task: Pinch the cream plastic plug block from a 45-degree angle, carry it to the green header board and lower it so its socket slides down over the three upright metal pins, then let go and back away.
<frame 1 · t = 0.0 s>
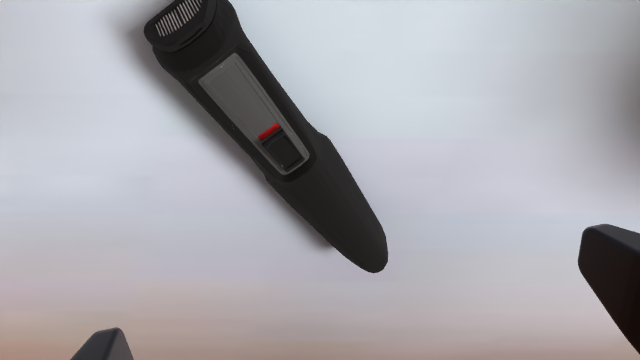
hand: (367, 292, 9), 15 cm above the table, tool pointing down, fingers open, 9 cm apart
electric trimmer: (282, 130, 24), on the table
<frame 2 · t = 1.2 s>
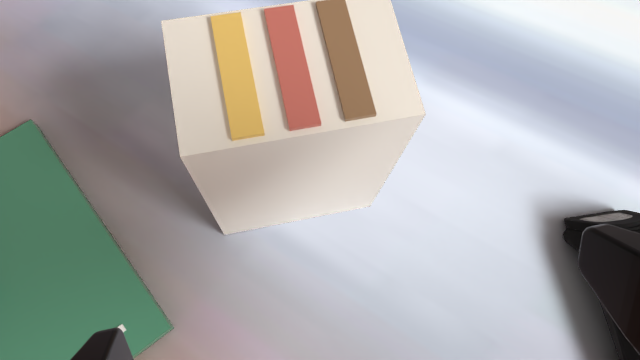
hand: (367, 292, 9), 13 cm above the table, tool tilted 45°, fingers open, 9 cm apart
plug block: (289, 177, 24), on the table
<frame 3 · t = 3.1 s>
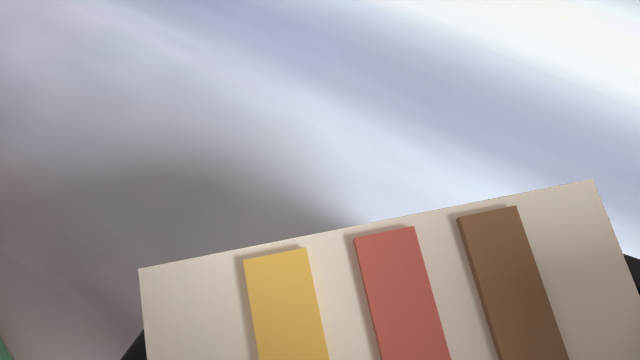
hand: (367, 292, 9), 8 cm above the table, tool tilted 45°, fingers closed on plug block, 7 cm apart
plug block: (341, 357, 16), on the table, touching gripper
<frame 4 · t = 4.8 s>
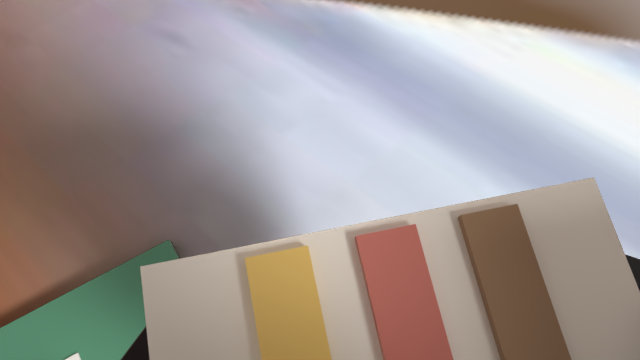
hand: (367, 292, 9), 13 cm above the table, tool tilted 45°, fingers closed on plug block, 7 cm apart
plug block: (341, 356, 16), point 6 cm above the table, touching gripper
when the fingers open (9 cm above the table, at t = 7.3 s): plug block stays where it is, resting on header board.
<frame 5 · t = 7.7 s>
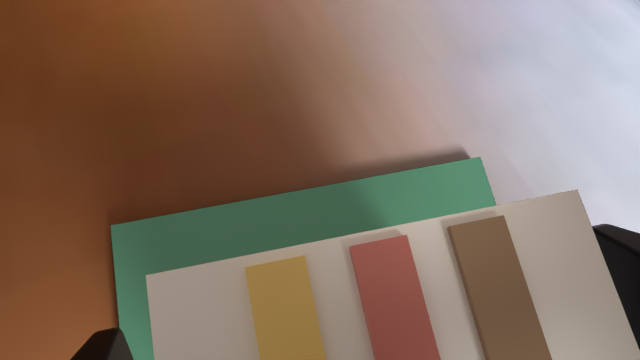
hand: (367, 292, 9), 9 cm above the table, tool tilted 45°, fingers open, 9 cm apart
header board: (338, 356, 17), on the table
plug block: (339, 357, 17), point 1 cm above the table, touching header board
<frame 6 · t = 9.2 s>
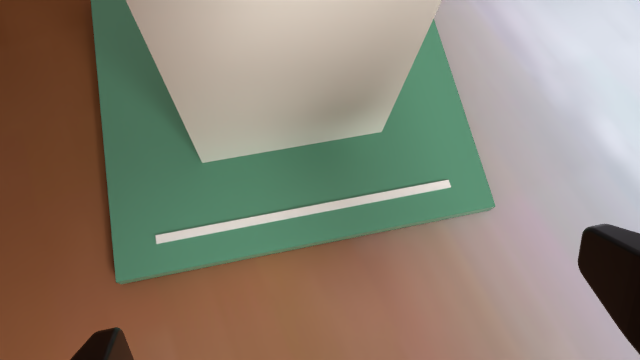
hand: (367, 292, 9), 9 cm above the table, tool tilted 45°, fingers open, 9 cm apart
header board: (283, 102, 20), on the table
plug block: (283, 96, 20), point 1 cm above the table, touching header board
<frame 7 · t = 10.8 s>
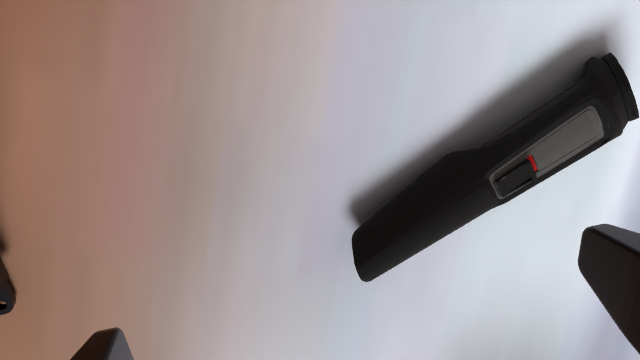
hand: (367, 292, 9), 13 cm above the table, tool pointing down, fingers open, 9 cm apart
electric trimmer: (480, 160, 25), on the table
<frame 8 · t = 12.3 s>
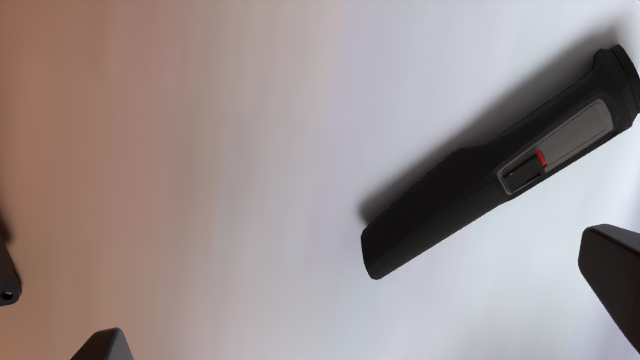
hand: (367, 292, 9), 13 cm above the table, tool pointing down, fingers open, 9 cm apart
electric trimmer: (488, 155, 25), on the table
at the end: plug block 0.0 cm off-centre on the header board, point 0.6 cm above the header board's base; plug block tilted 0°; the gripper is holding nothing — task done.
